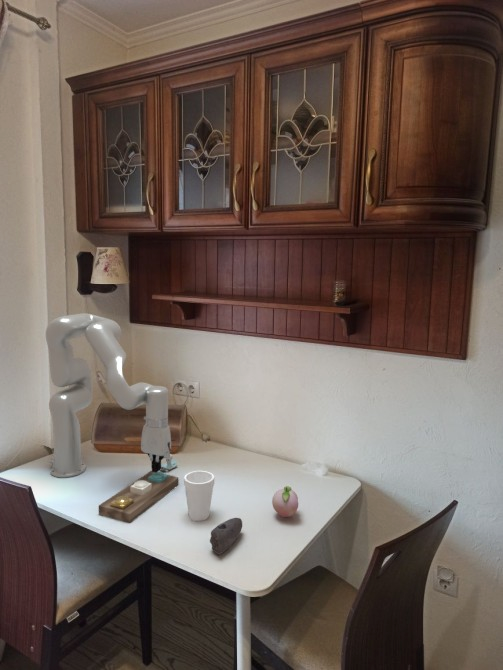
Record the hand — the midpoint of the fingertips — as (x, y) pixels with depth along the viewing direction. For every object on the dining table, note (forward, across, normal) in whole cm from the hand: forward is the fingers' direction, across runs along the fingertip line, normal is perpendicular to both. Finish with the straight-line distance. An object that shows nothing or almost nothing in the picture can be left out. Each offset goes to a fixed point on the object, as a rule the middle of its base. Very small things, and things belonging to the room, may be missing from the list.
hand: (156, 470), depth 170 cm
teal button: (+5, +1, 0) cm, 5 cm away
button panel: (+6, +1, -10) cm, 12 cm away
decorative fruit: (+5, +49, 0) cm, 49 cm away
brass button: (+5, +1, -20) cm, 21 cm away
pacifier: (+6, -5, +14) cm, 16 cm away
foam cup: (+6, +24, -11) cm, 27 cm away
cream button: (+4, +1, -10) cm, 11 cm away
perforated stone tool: (+5, +39, -21) cm, 44 cm away
